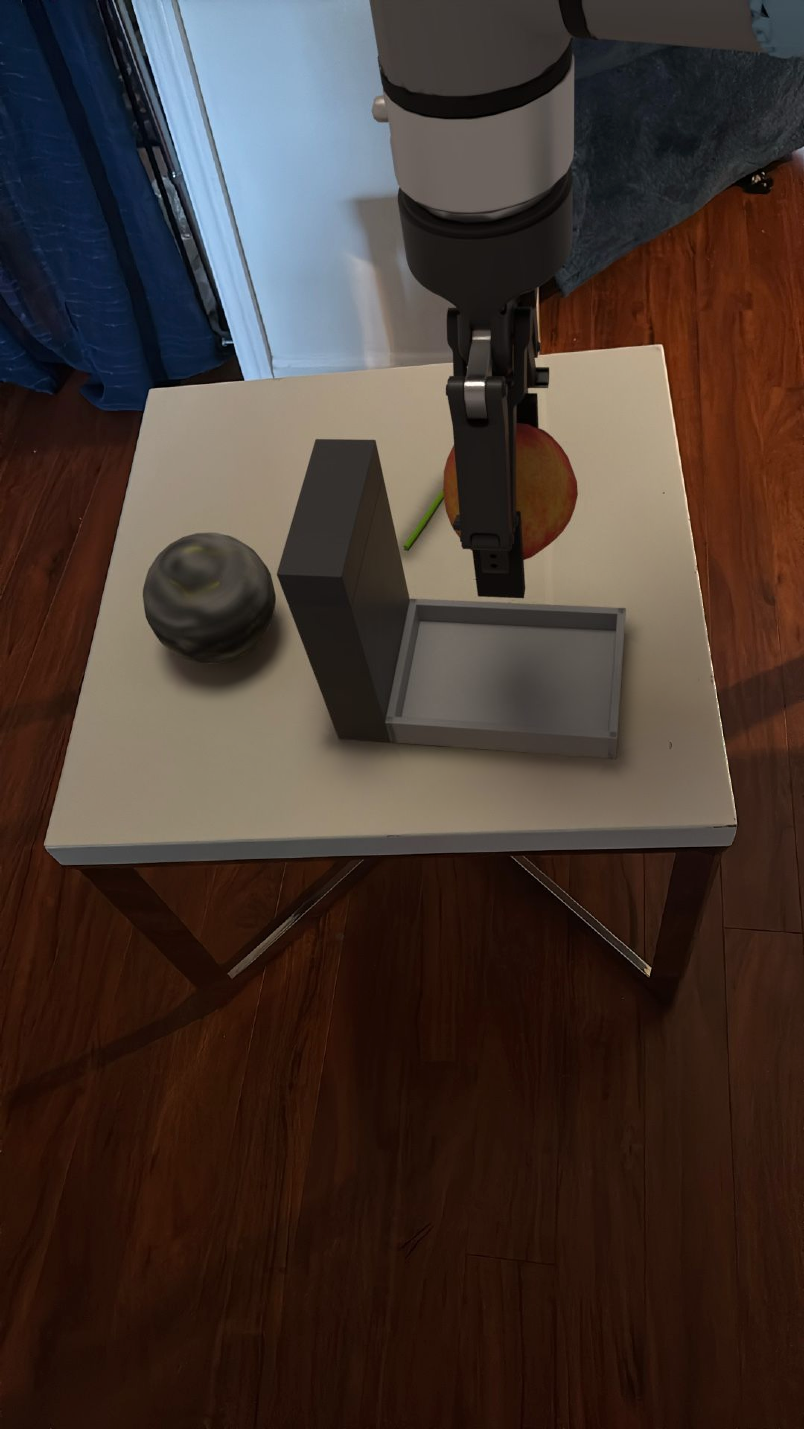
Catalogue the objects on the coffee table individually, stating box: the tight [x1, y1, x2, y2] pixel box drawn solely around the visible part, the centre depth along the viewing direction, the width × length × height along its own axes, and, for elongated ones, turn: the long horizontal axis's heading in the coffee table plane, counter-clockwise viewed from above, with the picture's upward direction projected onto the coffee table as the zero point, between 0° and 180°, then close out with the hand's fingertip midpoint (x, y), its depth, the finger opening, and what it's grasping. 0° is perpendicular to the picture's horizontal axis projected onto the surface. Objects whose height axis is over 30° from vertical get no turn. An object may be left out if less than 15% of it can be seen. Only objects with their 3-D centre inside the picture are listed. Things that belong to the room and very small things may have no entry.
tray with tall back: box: [276, 438, 627, 760], centre depth 70 cm, size 20×11×19 cm, turn 80°
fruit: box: [442, 423, 579, 561], centre depth 60 cm, size 8×8×8 cm
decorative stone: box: [142, 532, 277, 665], centre depth 79 cm, size 10×10×10 cm
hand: (510, 533), depth 63 cm, fingers closed on fruit, 8 cm apart
